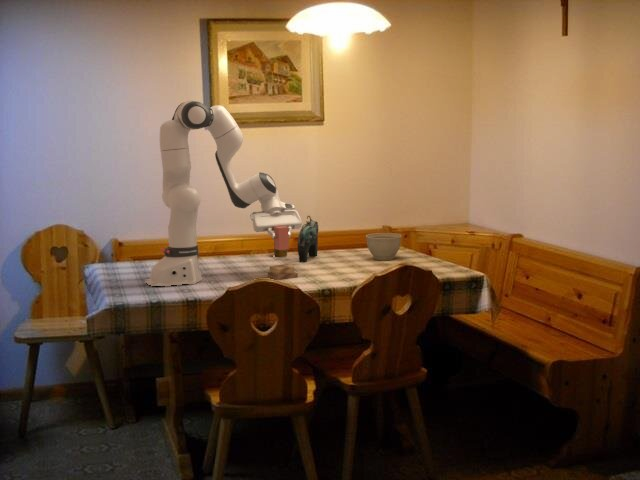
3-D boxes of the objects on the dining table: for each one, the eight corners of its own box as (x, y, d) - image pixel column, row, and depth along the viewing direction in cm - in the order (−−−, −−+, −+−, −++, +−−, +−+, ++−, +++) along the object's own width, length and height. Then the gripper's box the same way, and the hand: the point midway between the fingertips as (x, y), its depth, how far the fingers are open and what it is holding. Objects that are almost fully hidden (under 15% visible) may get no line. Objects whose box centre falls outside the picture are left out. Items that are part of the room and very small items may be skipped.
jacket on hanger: (309, 255, 364) (308, 213, 362) (322, 255, 362) (321, 213, 360) (295, 262, 346) (294, 218, 343) (308, 263, 344) (307, 218, 341)
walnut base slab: (278, 281, 307) (277, 275, 306) (268, 278, 314) (267, 272, 314) (297, 279, 311) (297, 273, 311) (287, 275, 319) (287, 269, 319)
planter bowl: (358, 259, 351) (358, 235, 350) (383, 254, 362) (382, 231, 360) (384, 263, 340) (384, 239, 338) (408, 258, 350) (408, 235, 349)
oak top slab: (278, 275, 307) (277, 268, 307) (269, 272, 314) (269, 266, 313) (294, 272, 311) (294, 266, 311) (286, 270, 317) (285, 264, 317)
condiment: (290, 256, 362) (290, 231, 361) (275, 258, 358) (274, 233, 356) (282, 254, 368) (282, 229, 367) (267, 256, 364) (266, 231, 362)
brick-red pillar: (279, 250, 308) (278, 228, 307) (274, 248, 312) (273, 226, 311) (289, 249, 310) (288, 227, 309) (284, 247, 314) (283, 225, 313)
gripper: (250, 207, 311) (258, 234, 304) (297, 204, 319) (306, 230, 311) (247, 217, 316) (255, 244, 308) (294, 214, 323) (303, 239, 316)
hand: (281, 237), depth 310 cm, fingers closed on brick-red pillar, 5 cm apart
